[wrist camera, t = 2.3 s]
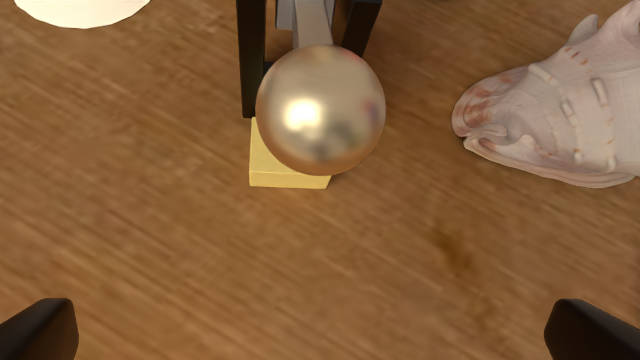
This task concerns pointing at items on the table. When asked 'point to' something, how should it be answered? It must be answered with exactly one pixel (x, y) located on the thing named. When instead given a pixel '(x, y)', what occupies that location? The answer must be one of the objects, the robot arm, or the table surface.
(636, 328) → the robot arm
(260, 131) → the ball-tipped lever
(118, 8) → the wineglass
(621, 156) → the seashell
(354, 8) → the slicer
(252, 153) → the butter
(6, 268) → the table surface
